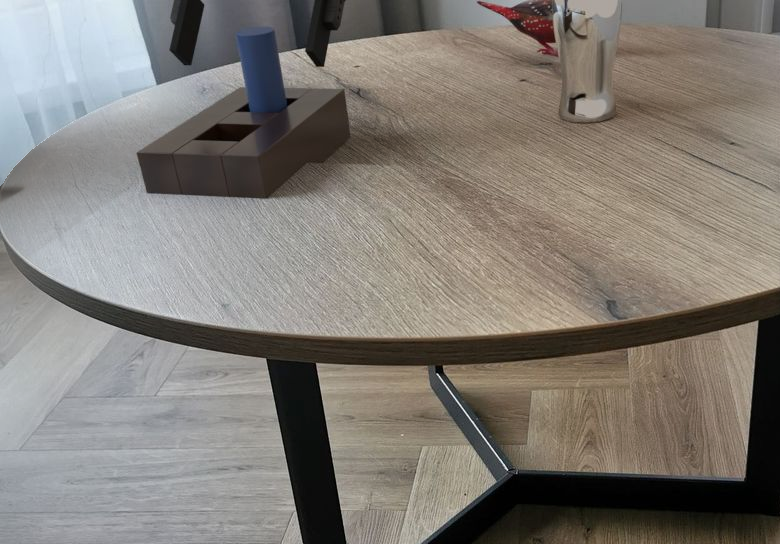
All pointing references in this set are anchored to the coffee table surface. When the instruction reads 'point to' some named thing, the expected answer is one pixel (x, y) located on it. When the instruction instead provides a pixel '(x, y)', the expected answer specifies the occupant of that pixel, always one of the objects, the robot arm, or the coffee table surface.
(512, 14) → the decorative bird figurine
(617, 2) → the beer glass
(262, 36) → the blue peg
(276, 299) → the coffee table surface
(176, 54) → the robot arm
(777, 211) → the coffee table surface
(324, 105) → the peg rack
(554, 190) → the coffee table surface
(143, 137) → the coffee table surface
